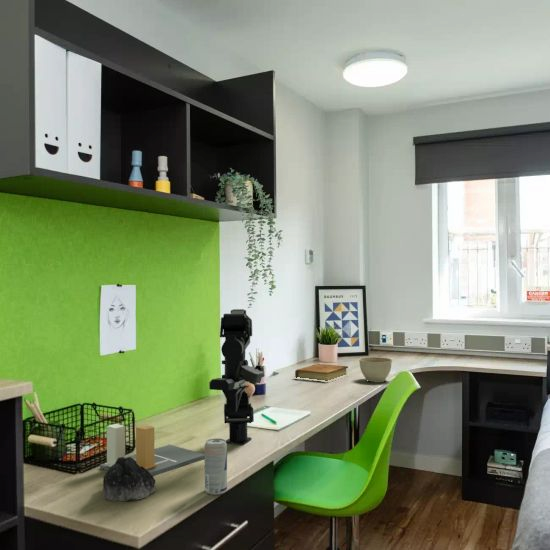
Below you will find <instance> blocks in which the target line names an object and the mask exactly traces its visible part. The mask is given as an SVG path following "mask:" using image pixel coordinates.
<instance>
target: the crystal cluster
mask: <svg viewBox="0 0 550 550" xmlns="http://www.w3.org/2000/svg"><path fill="white" fill-rule="evenodd" d="M127 457H128V456H127ZM102 483H103V488H102V496H103V497H102V498H104V499H107V500H109V501H115V502H125V501H127V502H128V501H133V500H134V501H135V500H136V501H137V500H142V499H147V498H148V497H149V496H150V495H151V494H154V492H155V491H156V488H155V484H156V479H155V478H154V476H152V475H151V474H150V472H149V471H148V470H146V469H145V468H144V467H142V466H141V467H140V466H139V465H138V464H137V463H136V461H135V460H134V459H133V458H131V457H128V458H124V457H119V458H118V459H117V461H116V463H115V464H114V465H112V466H111V467H110V469H109V470H108V471H106V473H105V474H104V476H103V481H102Z"/></svg>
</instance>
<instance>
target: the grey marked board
mask: <svg viewBox="0 0 550 550" xmlns="http://www.w3.org/2000/svg"><path fill="white" fill-rule="evenodd" d="M128 457H131V458H133V459H134V460H135V461H136V453H135V454H132V455H128V456H125V458H128ZM154 460H155V464H157V466H156V467H153V468H150V469H147V470H148V471H149V472H150V474H151V475H152V476H153V477H154V476H157V475H159V474H163V473H167V472H169V471H172V470H175V469H178V468H180V467H184V466H187V465H190V464H192V463H195V462H199V461H201V460H205V453H201V452H197V451H194V450H191V449H187V448H183V447H180V446H177V445H173V444H167V445H164V446H160V447H156V448H154ZM105 463H106V462H104V463H99V469H101V470H103V469H104V471H106V472H107V471H108V470H109V469H110V467H108V466H106V465H105Z"/></svg>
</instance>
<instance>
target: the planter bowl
mask: <svg viewBox="0 0 550 550" xmlns="http://www.w3.org/2000/svg"><path fill="white" fill-rule="evenodd" d="M358 360H359V368H360V372H361V373H362V375H363V377H364V378H365V381H366V380H368V381H374V382H373V383H384V381H385V382H386V379H387V378H388V376H389V375H390V372H391V369H392V363H393V360H392V359H391V358H388V357H380V356H379V357H378V356H377V357H376V356H370V357H368V356H367V357H360V358H359V359H358ZM368 381H367V382H368Z"/></svg>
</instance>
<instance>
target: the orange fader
mask: <svg viewBox="0 0 550 550" xmlns="http://www.w3.org/2000/svg"><path fill="white" fill-rule="evenodd" d="M154 449H155V426H153V425H152V426H151V425H148V424H142V425H139V426H135V454H136V463H137V464H138V465H139V466H140V467H141V466H142V467H144V468H145V469H146V470H147V469H150V468H153V467H156V466H157V464H155V460H154Z"/></svg>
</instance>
